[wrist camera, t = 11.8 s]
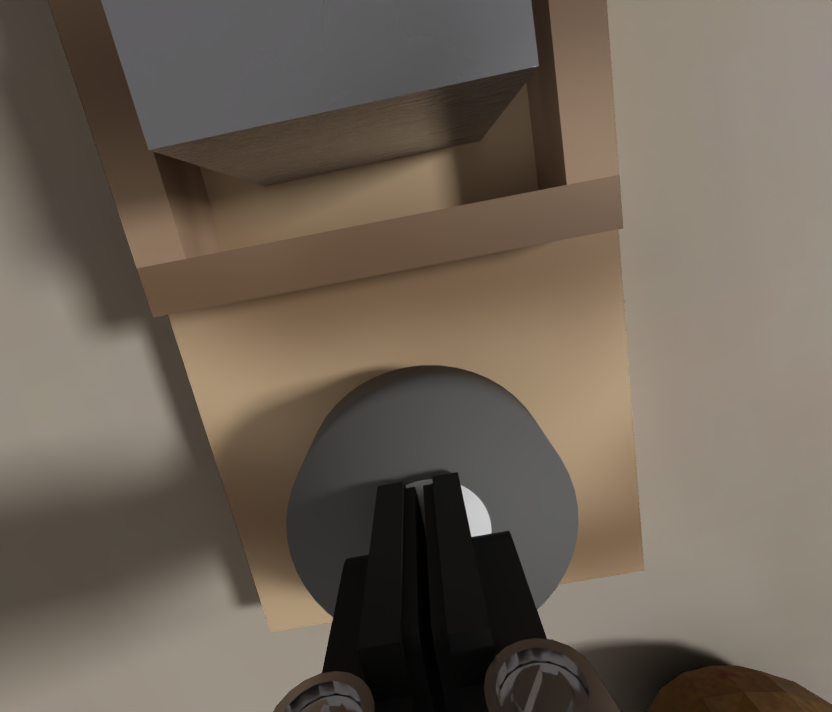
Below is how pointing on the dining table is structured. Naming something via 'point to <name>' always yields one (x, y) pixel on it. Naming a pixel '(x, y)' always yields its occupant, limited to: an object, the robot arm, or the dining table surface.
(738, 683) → the potato
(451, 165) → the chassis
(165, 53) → the grey stone cube
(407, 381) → the wheel
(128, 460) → the dining table surface
